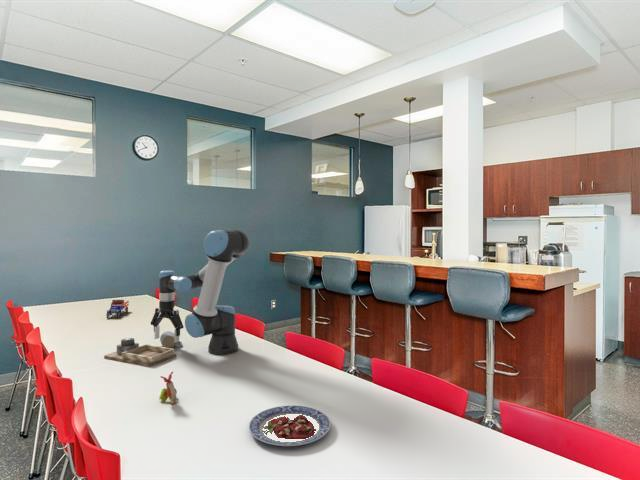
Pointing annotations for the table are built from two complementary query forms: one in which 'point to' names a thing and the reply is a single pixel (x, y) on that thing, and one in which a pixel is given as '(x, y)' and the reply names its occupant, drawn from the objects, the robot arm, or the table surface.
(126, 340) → the wheel
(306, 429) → the ceramic plate
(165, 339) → the ceramic mug
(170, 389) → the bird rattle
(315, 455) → the table surface
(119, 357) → the board
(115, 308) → the toy truck
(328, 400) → the table surface
